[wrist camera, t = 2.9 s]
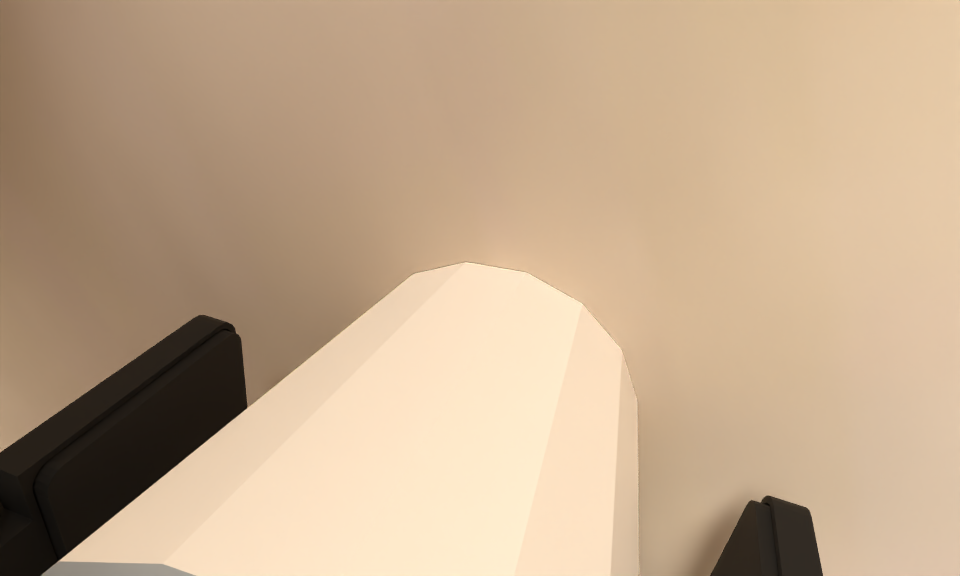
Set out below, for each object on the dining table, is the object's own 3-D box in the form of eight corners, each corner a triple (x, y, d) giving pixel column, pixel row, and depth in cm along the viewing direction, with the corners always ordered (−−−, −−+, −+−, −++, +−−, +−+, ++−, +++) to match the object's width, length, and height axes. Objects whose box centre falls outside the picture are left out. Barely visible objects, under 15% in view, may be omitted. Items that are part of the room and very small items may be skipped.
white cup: (677, 541, 12) (655, 1082, 6) (377, 500, 15) (158, 867, 9) (668, 221, 9) (611, 679, 3) (293, 235, 12) (-123, 519, 6)
